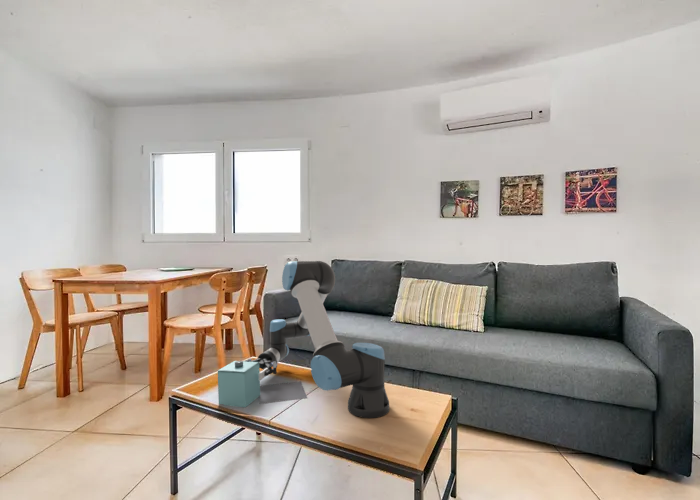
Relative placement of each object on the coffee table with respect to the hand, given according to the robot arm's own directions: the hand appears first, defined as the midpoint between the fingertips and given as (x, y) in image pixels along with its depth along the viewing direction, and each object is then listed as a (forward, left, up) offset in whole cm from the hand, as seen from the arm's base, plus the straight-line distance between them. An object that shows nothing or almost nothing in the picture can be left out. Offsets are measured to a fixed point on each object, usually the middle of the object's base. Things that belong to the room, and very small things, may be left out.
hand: (243, 375), depth 133 cm
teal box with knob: (-3, +1, -8) cm, 9 cm away
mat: (0, -15, -9) cm, 17 cm away
